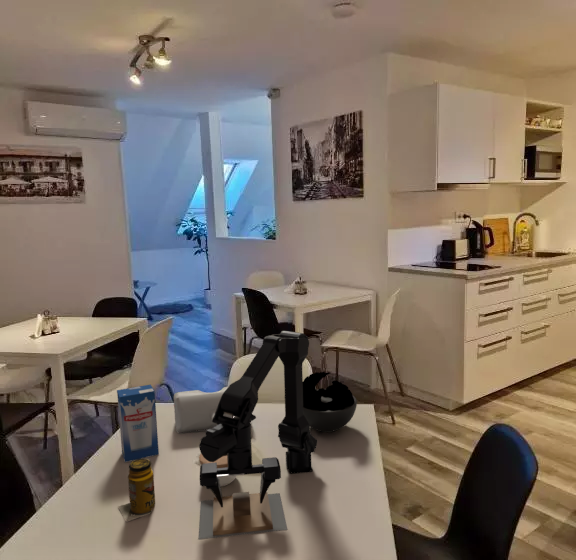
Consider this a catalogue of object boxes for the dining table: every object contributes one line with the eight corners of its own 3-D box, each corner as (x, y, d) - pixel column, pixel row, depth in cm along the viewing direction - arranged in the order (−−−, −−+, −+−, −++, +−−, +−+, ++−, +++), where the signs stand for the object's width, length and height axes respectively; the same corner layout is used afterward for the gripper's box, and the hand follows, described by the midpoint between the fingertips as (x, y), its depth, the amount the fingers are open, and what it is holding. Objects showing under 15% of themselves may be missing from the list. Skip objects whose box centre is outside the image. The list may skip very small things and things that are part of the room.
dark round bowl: (296, 416, 179) (295, 364, 176) (354, 416, 178) (353, 363, 175) (295, 443, 159) (293, 385, 156) (360, 443, 158) (359, 384, 155)
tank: (177, 443, 161) (174, 405, 159) (175, 422, 176) (172, 388, 174) (255, 432, 167) (254, 396, 165) (246, 413, 182) (245, 379, 181)
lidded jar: (208, 497, 131) (206, 463, 130) (195, 477, 140) (193, 445, 139) (246, 485, 136) (245, 452, 134) (232, 467, 145) (230, 436, 144)
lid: (267, 495, 130) (266, 479, 129) (272, 529, 117) (272, 511, 116) (213, 501, 128) (212, 484, 128) (213, 535, 115) (212, 517, 114)
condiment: (161, 510, 126) (157, 464, 124) (126, 522, 122) (122, 475, 120) (151, 496, 132) (148, 452, 130) (117, 507, 128) (114, 462, 126)
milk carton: (155, 445, 160) (150, 384, 157) (159, 454, 154) (154, 390, 151) (121, 453, 155) (116, 390, 152) (124, 462, 150) (119, 397, 147)
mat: (279, 494, 131) (279, 492, 131) (287, 531, 117) (287, 529, 116) (200, 502, 129) (200, 500, 129) (198, 541, 114) (198, 539, 114)
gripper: (275, 425, 129) (276, 482, 131) (199, 431, 127) (203, 489, 129) (280, 445, 118) (282, 508, 120) (198, 452, 116) (201, 516, 118)
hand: (241, 504), depth 122 cm, fingers open, 9 cm apart
